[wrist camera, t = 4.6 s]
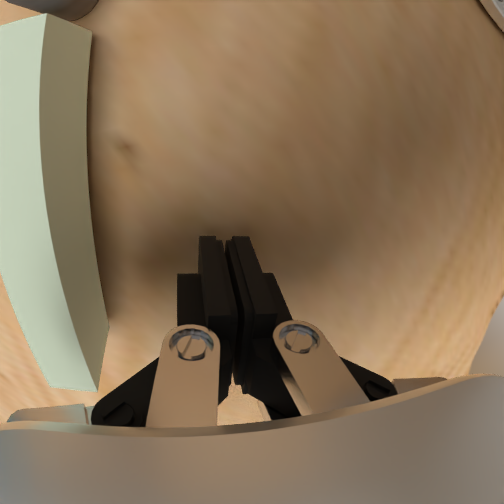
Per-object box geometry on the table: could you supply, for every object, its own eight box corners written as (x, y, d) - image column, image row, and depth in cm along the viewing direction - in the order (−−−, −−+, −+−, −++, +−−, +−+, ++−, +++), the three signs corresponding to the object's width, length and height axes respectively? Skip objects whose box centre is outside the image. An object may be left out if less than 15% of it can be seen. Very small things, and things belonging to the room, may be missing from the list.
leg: (37, 40, 6) (-23, 33, 3) (92, 31, 7) (47, 13, 4) (68, 324, 12) (50, 387, 9) (109, 326, 12) (97, 391, 10)
